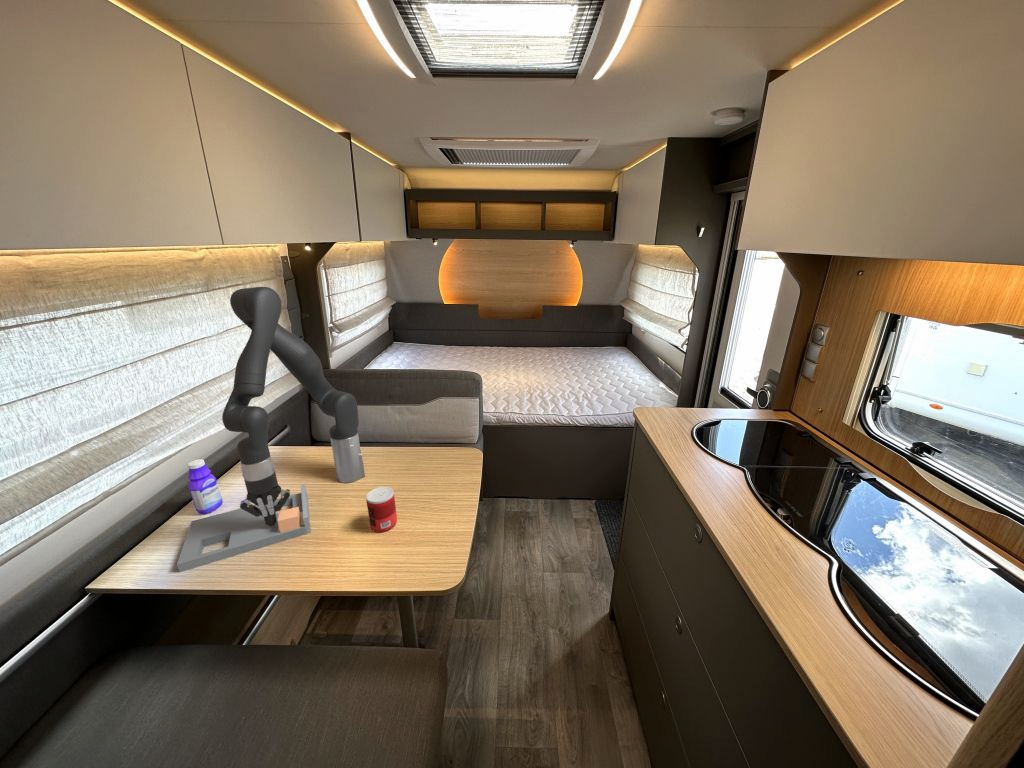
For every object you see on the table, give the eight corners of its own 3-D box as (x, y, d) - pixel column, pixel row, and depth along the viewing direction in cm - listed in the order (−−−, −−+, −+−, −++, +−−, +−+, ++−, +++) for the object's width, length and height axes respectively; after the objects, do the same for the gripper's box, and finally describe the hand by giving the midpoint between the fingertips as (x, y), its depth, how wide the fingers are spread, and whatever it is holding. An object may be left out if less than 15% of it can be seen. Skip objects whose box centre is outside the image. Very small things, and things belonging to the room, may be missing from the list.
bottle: (207, 516, 125) (192, 468, 120) (192, 514, 127) (177, 466, 121) (227, 503, 132) (214, 457, 127) (213, 501, 133) (199, 455, 128)
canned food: (402, 519, 124) (398, 488, 120) (386, 535, 116) (382, 504, 113) (381, 514, 126) (377, 484, 122) (365, 530, 119) (360, 499, 115)
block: (300, 517, 121) (298, 506, 119) (299, 527, 116) (297, 516, 115) (282, 522, 119) (279, 510, 118) (280, 532, 114) (277, 520, 113)
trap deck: (307, 497, 135) (304, 483, 133) (311, 532, 118) (307, 517, 116) (193, 527, 121) (188, 512, 119) (179, 572, 104) (173, 555, 102)
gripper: (286, 461, 117) (296, 510, 123) (232, 472, 111) (246, 524, 117) (286, 472, 111) (297, 524, 117) (229, 485, 105) (244, 539, 111)
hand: (271, 524), depth 117 cm, fingers closed
